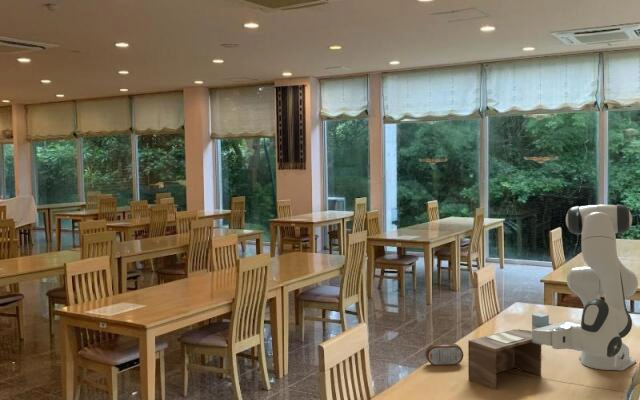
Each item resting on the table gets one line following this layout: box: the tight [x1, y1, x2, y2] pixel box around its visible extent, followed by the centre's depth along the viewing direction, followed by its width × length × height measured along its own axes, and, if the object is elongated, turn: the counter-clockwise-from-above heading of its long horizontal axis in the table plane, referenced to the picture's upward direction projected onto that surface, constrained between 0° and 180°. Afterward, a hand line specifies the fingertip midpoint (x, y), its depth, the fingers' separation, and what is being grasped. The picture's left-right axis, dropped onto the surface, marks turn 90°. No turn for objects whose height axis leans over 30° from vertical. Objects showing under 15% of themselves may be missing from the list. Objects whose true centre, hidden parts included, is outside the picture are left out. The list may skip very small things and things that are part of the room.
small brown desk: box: [467, 329, 542, 391], centre depth 240 cm, size 26×13×15 cm, turn 123°
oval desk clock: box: [425, 343, 464, 366], centre depth 256 cm, size 15×3×8 cm, turn 92°
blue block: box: [531, 312, 550, 346], centre depth 225 cm, size 4×4×10 cm
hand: (538, 326), depth 226 cm, fingers closed on blue block, 4 cm apart
